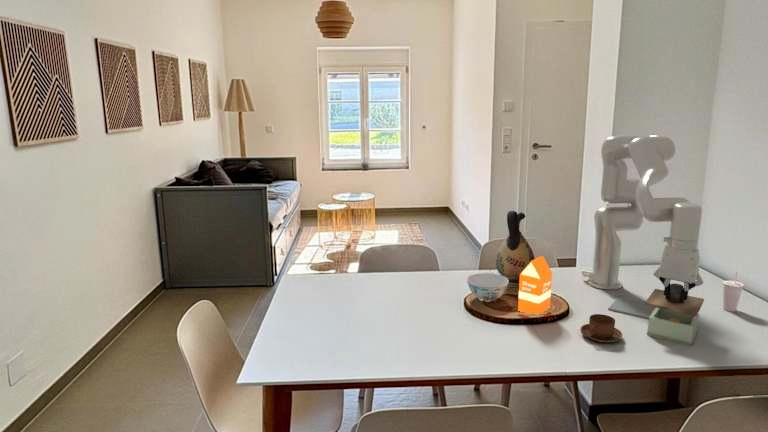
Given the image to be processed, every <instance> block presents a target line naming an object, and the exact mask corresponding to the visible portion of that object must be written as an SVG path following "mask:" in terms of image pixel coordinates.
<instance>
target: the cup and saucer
mask: <svg viewBox="0 0 768 432" xmlns="http://www.w3.org/2000/svg"><path fill="white" fill-rule="evenodd" d="M588 319H589V320H588V322H589V323H587V324H584V325H582V326H581V327H580V332H581V334H582V335H584V337H586V338H587V339H589V340H592V341H594V342H598V343H614V342H615V343H616V342H617V341H619V340H621V339H622V337H623V333H622V331H621V330H619V329H618V328H616V326H615V325H616V319H615V318H613V317H612V316H611V315H610V316H609V315H607V314H601V313H599V314H598V313H595V314H591V315H590V316H589V318H588Z"/></svg>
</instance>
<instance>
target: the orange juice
mask: <svg viewBox="0 0 768 432" xmlns="http://www.w3.org/2000/svg"><path fill="white" fill-rule="evenodd" d="M552 280H553V272H552V270H551V268H550V266H549V265H548V263H547V261H546V259H545V257H544V256H543V255H541V256H539V257H536V258H535V259H534V260H532V261H531V262H530V263H529V265H528V266H527V267H526V268H525V269H524V270H523V272H522V273H521V274H520V280H519V285H518V305H517V312H518V311H520V312H525V313H530V314H535V315H539V314H541V313H543V312H544V311H546V310H547V309H549V308H550V309H551V297H552Z"/></svg>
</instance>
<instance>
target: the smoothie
mask: <svg viewBox="0 0 768 432" xmlns="http://www.w3.org/2000/svg"><path fill="white" fill-rule="evenodd" d="M737 280H738V271H737V270H735V275H734V280H732V279H731V280H728V279H726V280H723V281H722V282H721V286H722V308H723V310H724V311H727V312H731V313H732V312H736V311H737V308H738V305H739V301H740V298H741V296H742V292H743V290H744V288H745V284H744V283H742V282H741V281H737Z"/></svg>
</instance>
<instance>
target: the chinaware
mask: <svg viewBox="0 0 768 432" xmlns="http://www.w3.org/2000/svg"><path fill="white" fill-rule="evenodd" d="M466 280H467V285H468V288H469V289H470V291H471V293H472V294H473V295H474V296H475V297H477V299H478V298H480V299H484V300H494V299H496V300H497V299H499V298H501V296H503V294H505V292H506V291H507V288H508V286H509V284H508V283H509V280H508V279H507V278H506V277H504V276H501V275H500V274H499V273H498V274H497V273H491V272H490V273H489V272H483V273H482V272H478V273H473V274H471V275H468V277H467V279H466Z"/></svg>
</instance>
